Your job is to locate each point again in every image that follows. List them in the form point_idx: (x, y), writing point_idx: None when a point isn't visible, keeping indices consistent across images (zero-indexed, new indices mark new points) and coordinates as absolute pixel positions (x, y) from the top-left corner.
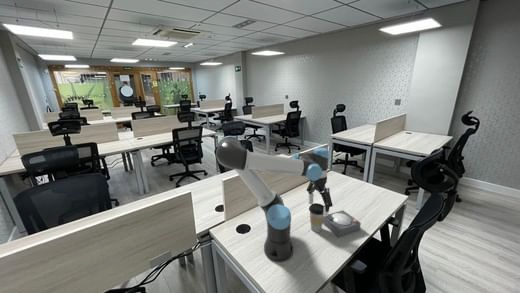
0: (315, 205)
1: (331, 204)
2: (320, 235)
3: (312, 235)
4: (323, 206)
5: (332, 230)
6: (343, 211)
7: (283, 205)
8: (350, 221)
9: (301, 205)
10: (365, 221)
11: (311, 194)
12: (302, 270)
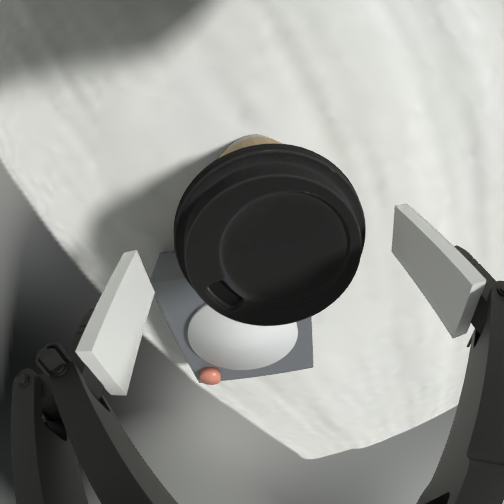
0: (318, 254)
1: (44, 422)
2: (190, 167)
3: (199, 118)
4: (264, 322)
5: None
6: (302, 365)
7: None
8: (209, 360)
9: (470, 195)
10: (249, 386)
11: (460, 307)
12: (8, 21)
